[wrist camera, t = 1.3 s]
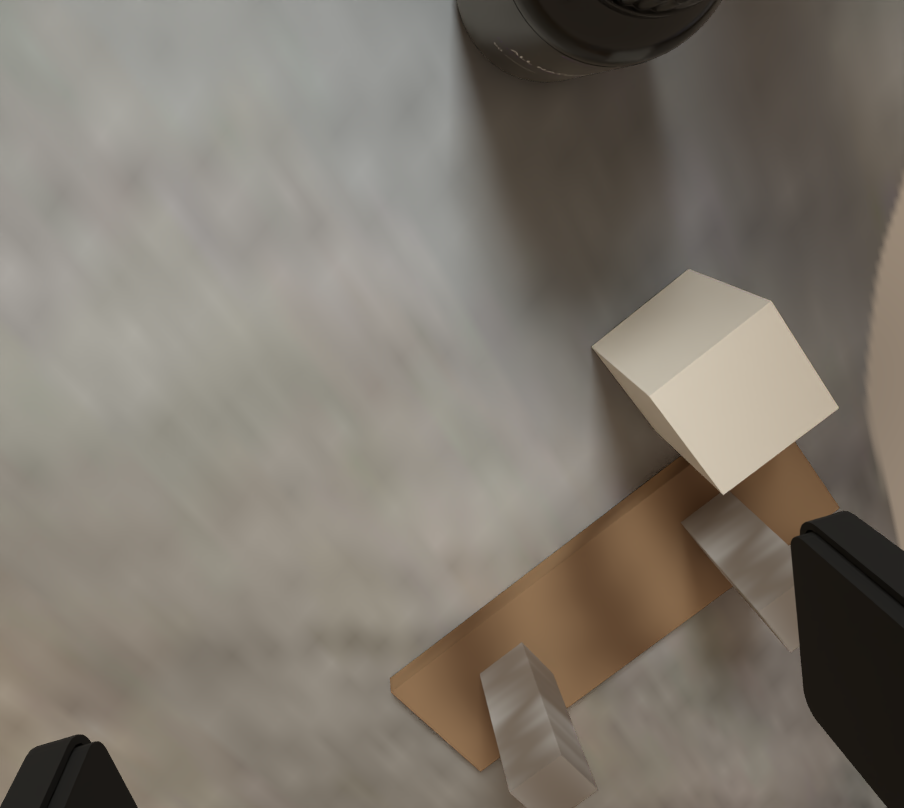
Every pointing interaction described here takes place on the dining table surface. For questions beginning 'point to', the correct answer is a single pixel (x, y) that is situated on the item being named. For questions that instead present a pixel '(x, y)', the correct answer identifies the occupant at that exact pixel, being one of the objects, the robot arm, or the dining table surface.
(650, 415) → the cream rectangular block
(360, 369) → the dining table surface
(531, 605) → the post strip
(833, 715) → the robot arm
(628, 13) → the supplement bottle
